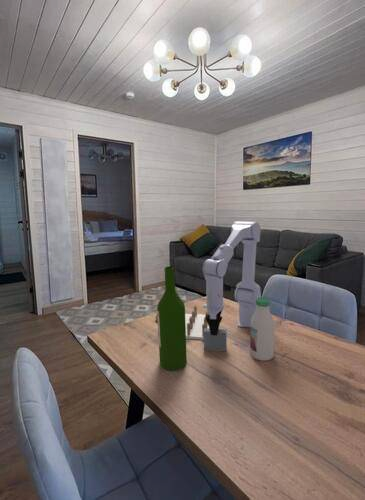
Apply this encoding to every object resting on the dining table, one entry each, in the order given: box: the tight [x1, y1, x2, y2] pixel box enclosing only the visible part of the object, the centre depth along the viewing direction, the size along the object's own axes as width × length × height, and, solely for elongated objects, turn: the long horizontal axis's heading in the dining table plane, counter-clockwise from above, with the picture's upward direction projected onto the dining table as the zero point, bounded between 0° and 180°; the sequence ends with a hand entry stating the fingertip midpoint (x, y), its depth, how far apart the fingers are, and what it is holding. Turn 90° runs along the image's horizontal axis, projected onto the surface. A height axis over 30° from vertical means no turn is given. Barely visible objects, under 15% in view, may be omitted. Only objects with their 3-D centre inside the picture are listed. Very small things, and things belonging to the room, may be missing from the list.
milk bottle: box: [249, 297, 275, 362], centre depth 91 cm, size 8×8×20 cm
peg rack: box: [185, 305, 210, 341], centre depth 114 cm, size 16×21×6 cm
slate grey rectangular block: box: [203, 328, 228, 352], centre depth 97 cm, size 8×2×7 cm, turn 78°
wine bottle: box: [156, 266, 188, 372], centre depth 87 cm, size 9×9×32 cm
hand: (215, 329), depth 97 cm, fingers open, 7 cm apart
